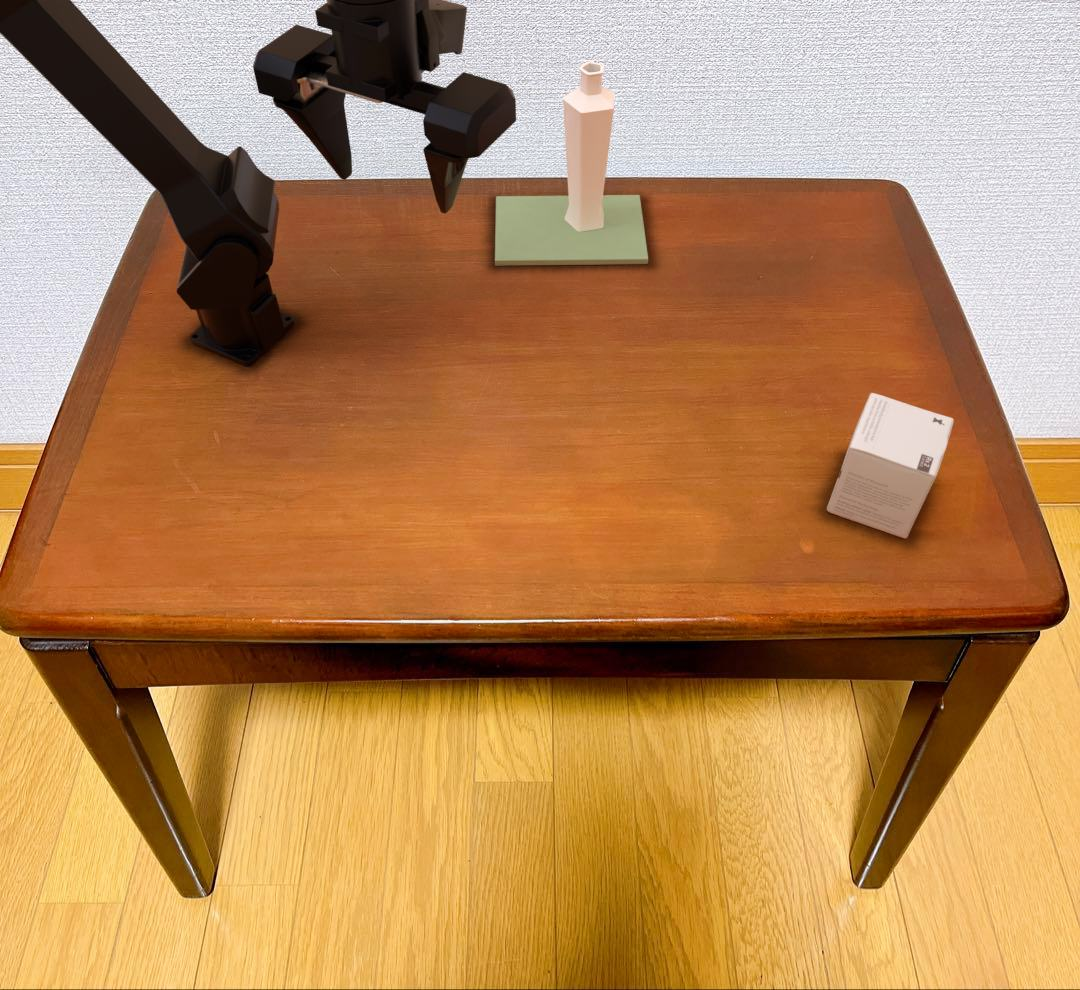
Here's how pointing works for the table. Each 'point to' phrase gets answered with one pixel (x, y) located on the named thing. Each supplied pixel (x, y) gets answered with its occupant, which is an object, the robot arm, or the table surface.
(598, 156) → the perfume bottle
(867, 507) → the product carton
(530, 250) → the mat
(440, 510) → the table surface
